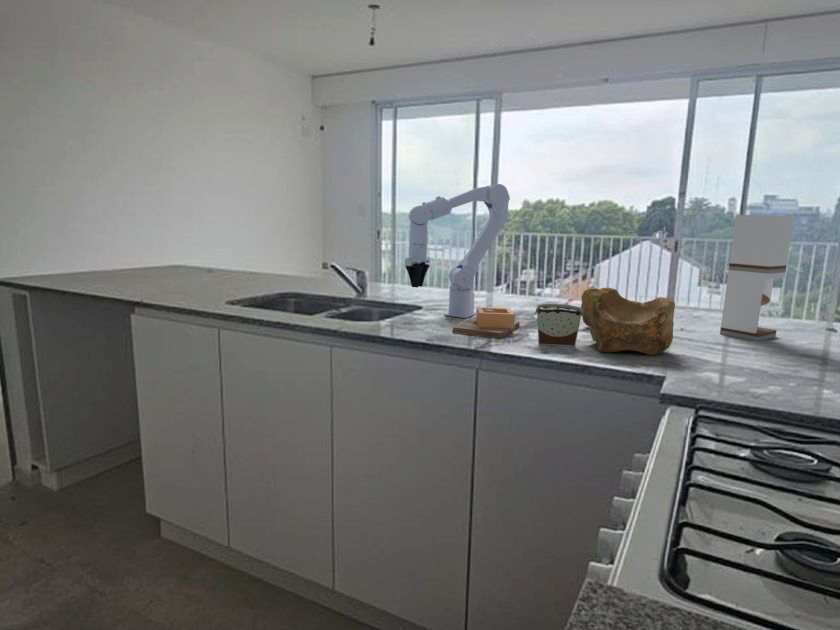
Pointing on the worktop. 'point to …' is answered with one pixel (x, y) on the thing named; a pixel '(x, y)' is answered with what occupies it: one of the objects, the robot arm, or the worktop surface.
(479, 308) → the shallow wooden tray
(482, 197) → the robot arm
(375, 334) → the worktop surface
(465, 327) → the post base
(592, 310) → the rough brown rock
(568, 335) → the food container
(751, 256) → the white stacked pedestal
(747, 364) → the worktop surface
